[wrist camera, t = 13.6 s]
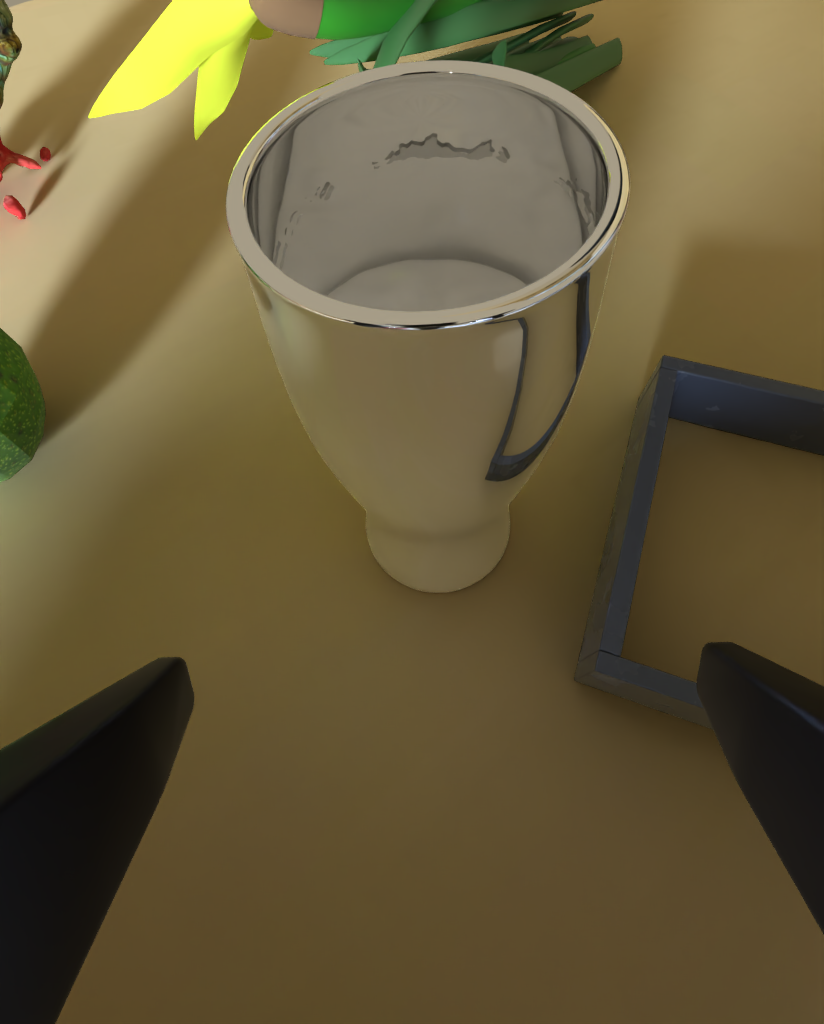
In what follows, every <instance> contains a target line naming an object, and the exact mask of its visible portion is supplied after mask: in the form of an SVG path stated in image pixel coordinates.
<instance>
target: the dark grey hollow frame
mask: <svg viewBox="0 0 824 1024" xmlns="http://www.w3.org/2000/svg"><path fill="white" fill-rule="evenodd" d="M668 417H670V418H674V419H678V420H682V421H686V422H690V423H694V424H698V425H702V426H706V427H711V428H715V429H719V430H723V431H727V432H731V433H735V434H739V435H743V436H747V437H751V438H755V439H759V440H763V441H767V442H772V443H776V444H780V445H784V446H788V447H792V448H796V449H800V450H804V451H808V452H812V453H816V454H820V455H824V391H822V390H817V389H813V388H808V387H804V386H800V385H795V384H791V383H786V382H782V381H777V380H773V379H768V378H764V377H759V376H755V375H750V374H746V373H742V372H737V371H733V370H728V369H724V368H719V367H715V366H710V365H706V364H701V363H697V362H692V361H688V360H684V359H679V358H675V357H670V356H666V355H664V356H662V358H661V360H660V361H659V363H658V365H657V367H656V369H655V370H654V372H653V374H652V376H651V377H650V379H649V381H648V383H647V385H646V386H645V388H644V390H643V392H642V393H641V395H640V397H639V399H638V404H637V409H636V412H635V416H634V420H633V425H632V429H631V433H630V438H629V442H628V447H627V451H626V455H625V460H624V464H623V468H622V473H621V477H620V481H619V486H618V490H617V494H616V499H615V503H614V507H613V512H612V516H611V520H610V525H609V529H608V534H607V538H606V542H605V547H604V551H603V555H602V560H601V564H600V568H599V573H598V577H597V581H596V586H595V590H594V594H593V599H592V603H591V607H590V612H589V616H588V621H587V625H586V629H585V634H584V638H583V642H582V647H581V651H580V655H579V660H578V662H579V663H578V664H577V668H576V673H575V677H574V680H575V681H577V682H580V683H582V684H585V685H588V686H591V687H594V688H597V689H599V690H602V691H605V692H608V693H611V694H614V695H616V696H619V697H622V698H625V699H628V700H631V701H633V702H636V703H639V704H642V705H645V706H648V707H650V708H653V709H656V710H659V711H662V712H665V713H667V714H670V715H673V716H676V717H679V718H682V719H684V720H687V721H690V722H693V723H696V724H699V725H701V726H704V727H707V728H710V729H713V728H712V726H711V723H710V721H709V719H708V717H707V714H706V712H705V710H704V708H703V705H702V703H701V701H700V699H699V696H698V692H697V683H696V682H693V681H690V680H687V679H684V678H681V677H678V676H675V675H672V674H669V673H666V672H663V671H660V670H657V669H654V668H651V667H648V666H645V665H642V664H639V663H636V662H633V661H630V660H628V659H625V658H622V657H620V656H621V653H622V648H623V643H624V638H625V633H626V628H627V623H628V617H629V612H630V607H631V602H632V597H633V592H634V587H635V582H636V577H637V572H638V567H639V562H640V557H641V552H642V547H643V542H644V537H645V532H646V527H647V522H648V517H649V512H650V507H651V502H652V497H653V492H654V487H655V482H656V477H657V472H658V467H659V462H660V457H661V452H662V447H663V442H664V437H665V432H666V427H667V422H668Z"/></svg>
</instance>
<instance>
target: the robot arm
mask: <svg viewBox="0 0 824 1024" xmlns="http://www.w3.org/2000/svg"><path fill="white" fill-rule="evenodd" d="M697 692H698V696H699V699H700V701H701V703H702V705H703V708H704V710H705V712H706V714H707V717H708V719H709V721H710V723H711V726H712V728H713V730H714V732H715V735H716V737H717V739H718V741H719V744H720V746H721V748H722V750H723V753H724V755H725V757H726V759H727V762H728V764H729V766H730V768H731V770H732V772H733V775H734V777H735V779H736V781H737V783H738V785H739V787H740V788H741V790H742V792H743V794H744V796H745V798H746V799H747V801H748V803H749V805H750V806H751V808H752V810H753V812H754V813H755V815H756V817H757V819H758V820H759V822H760V824H761V826H762V827H763V829H764V831H765V833H766V834H767V836H768V838H769V840H770V841H771V843H772V845H773V847H774V848H775V850H776V852H777V854H778V855H779V857H780V859H781V861H782V862H783V864H784V866H785V868H786V869H787V871H788V873H789V875H790V876H791V878H792V880H793V882H794V883H795V885H796V887H797V889H798V890H799V892H800V894H801V896H802V897H803V899H804V901H805V903H806V904H807V906H808V908H809V910H810V911H811V913H812V915H813V917H814V918H815V920H816V922H817V924H818V925H819V927H820V929H821V931H822V932H823V934H824V686H822V685H819V684H817V683H815V682H813V681H811V680H809V679H807V678H805V677H803V676H801V675H799V674H797V673H795V672H793V671H791V670H789V669H786V668H784V667H782V666H780V665H778V664H776V663H774V662H772V661H770V660H768V659H766V658H764V657H762V656H760V655H758V654H756V653H754V652H751V651H749V650H747V649H745V648H743V647H741V646H739V645H737V644H735V643H732V642H710V643H707V644H706V645H704V647H703V650H702V654H701V659H700V665H699V671H698V676H697ZM193 706H194V692H193V688H192V684H191V680H190V676H189V672H188V668H187V665H186V662H185V660H184V659H182V658H181V657H162V658H158V659H156V660H154V661H152V662H150V663H149V664H147V665H145V666H144V667H142V668H140V669H138V670H137V671H135V672H133V673H132V674H130V675H128V676H126V677H125V678H123V679H121V680H119V681H118V682H116V683H114V684H113V685H111V686H109V687H107V688H106V689H104V690H102V691H101V692H99V693H97V694H95V695H94V696H92V697H90V698H88V699H87V700H85V701H83V702H82V703H80V704H78V705H76V706H75V707H73V708H71V709H69V710H68V711H66V712H64V713H63V714H61V715H59V716H57V717H56V718H54V719H52V720H51V721H49V722H47V723H45V724H44V725H42V726H40V727H38V728H37V729H35V730H33V731H32V732H30V733H28V734H26V735H25V736H23V737H21V738H20V739H18V740H16V741H14V742H13V743H11V744H9V745H7V746H6V747H4V748H2V749H1V750H0V1024H55V1023H56V1021H57V1018H58V1016H59V1014H60V1012H61V1010H62V1008H63V1006H64V1004H65V1001H66V999H67V997H68V995H69V993H70V991H71V989H72V986H73V984H74V982H75V980H76V978H77V976H78V974H79V971H80V969H81V967H82V965H83V963H84V961H85V959H86V957H87V954H88V952H89V950H90V948H91V946H92V944H93V942H94V939H95V937H96V935H97V933H98V931H99V929H100V927H101V925H102V922H103V920H104V918H105V916H106V914H107V912H108V910H109V907H110V905H111V903H112V901H113V899H114V897H115V895H116V892H117V890H118V888H119V886H120V884H121V882H122V880H123V878H124V875H125V873H126V871H127V869H128V867H129V865H130V863H131V860H132V858H133V856H134V854H135V852H136V850H137V848H138V845H139V843H140V841H141V839H142V837H143V835H144V833H145V831H146V828H147V826H148V824H149V822H150V820H151V818H152V816H153V813H154V811H155V809H156V807H157V805H158V803H159V800H160V798H161V796H162V794H163V791H164V789H165V786H166V783H167V781H168V778H169V776H170V773H171V770H172V767H173V764H174V761H175V758H176V756H177V753H178V750H179V747H180V744H181V741H182V739H183V736H184V733H185V730H186V727H187V724H188V721H189V719H190V716H191V713H192V710H193Z"/></svg>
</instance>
